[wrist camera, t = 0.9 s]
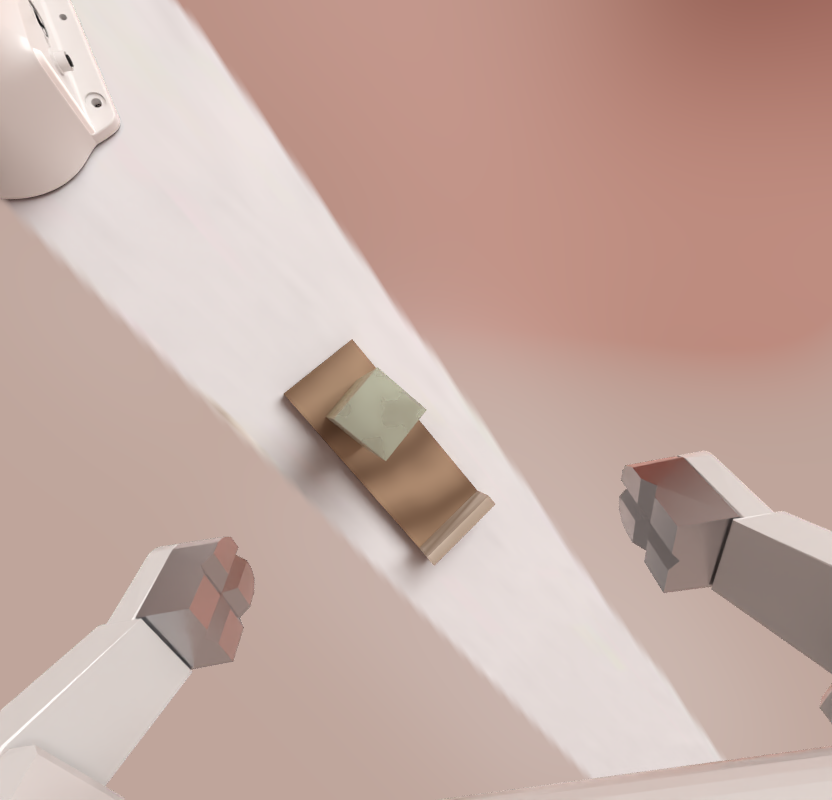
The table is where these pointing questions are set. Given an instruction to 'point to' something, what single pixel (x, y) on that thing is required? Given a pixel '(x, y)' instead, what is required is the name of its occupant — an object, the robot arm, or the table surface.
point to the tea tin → (376, 413)
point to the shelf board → (394, 462)
